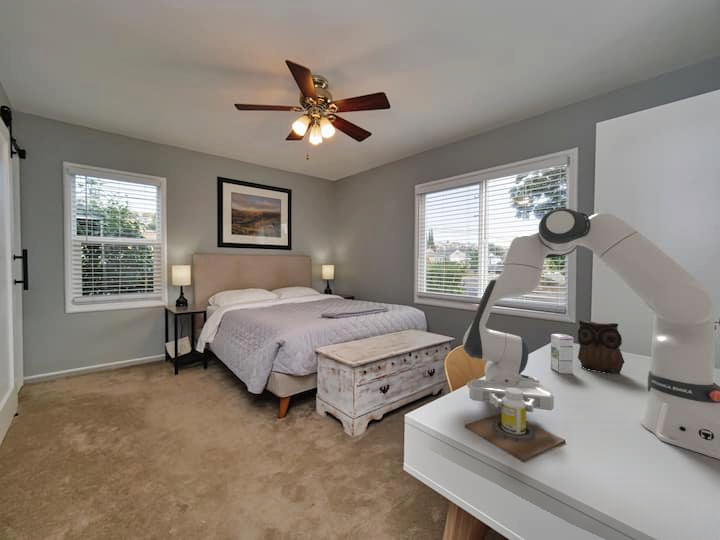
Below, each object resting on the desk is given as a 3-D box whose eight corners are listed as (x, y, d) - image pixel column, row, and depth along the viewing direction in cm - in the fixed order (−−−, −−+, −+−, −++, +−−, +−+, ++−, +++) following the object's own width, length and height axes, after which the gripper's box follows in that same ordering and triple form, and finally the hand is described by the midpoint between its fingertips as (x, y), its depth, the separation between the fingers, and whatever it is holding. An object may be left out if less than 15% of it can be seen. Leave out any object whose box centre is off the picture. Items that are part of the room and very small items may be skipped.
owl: (625, 375, 120) (627, 324, 120) (591, 374, 121) (592, 323, 121) (603, 365, 133) (604, 318, 132) (572, 363, 134) (573, 318, 134)
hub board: (565, 442, 73) (565, 435, 73) (523, 462, 65) (523, 454, 65) (505, 413, 87) (505, 407, 87) (464, 426, 79) (465, 420, 79)
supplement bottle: (520, 424, 79) (521, 386, 79) (529, 436, 73) (530, 395, 73) (498, 423, 79) (499, 385, 79) (505, 435, 74) (506, 394, 74)
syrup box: (573, 373, 121) (574, 337, 121) (558, 373, 121) (559, 336, 121) (564, 368, 127) (565, 333, 127) (549, 368, 127) (550, 333, 127)
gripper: (466, 370, 91) (469, 388, 78) (544, 378, 86) (561, 399, 73) (466, 392, 92) (469, 413, 78) (543, 401, 86) (561, 426, 73)
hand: (514, 406), depth 75 cm, fingers closed on supplement bottle, 5 cm apart
